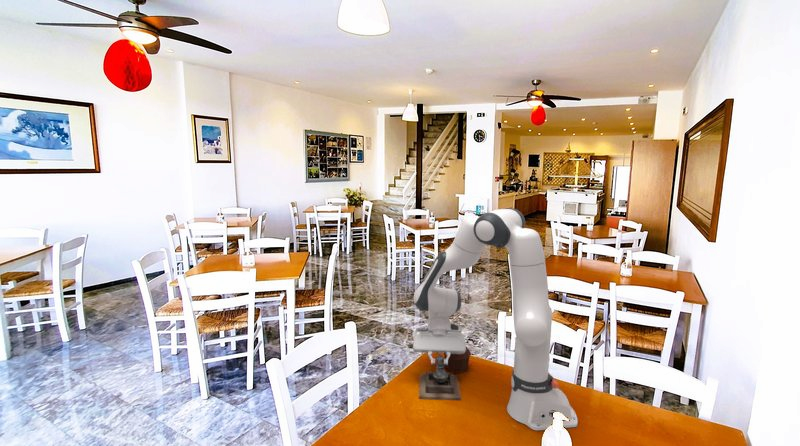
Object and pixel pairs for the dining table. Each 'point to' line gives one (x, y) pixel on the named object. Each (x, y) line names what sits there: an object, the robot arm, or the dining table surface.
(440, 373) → the grey chess piece
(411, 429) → the dining table surface
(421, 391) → the walnut board
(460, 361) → the muffin
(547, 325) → the robot arm
